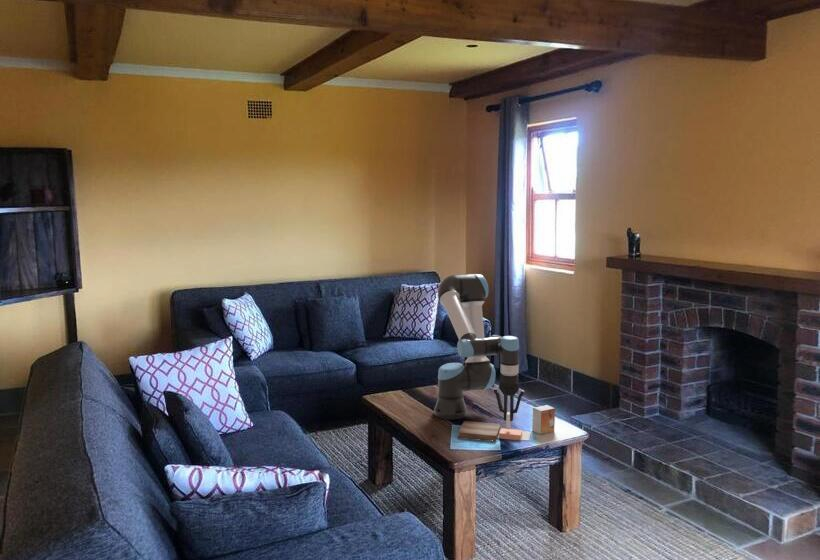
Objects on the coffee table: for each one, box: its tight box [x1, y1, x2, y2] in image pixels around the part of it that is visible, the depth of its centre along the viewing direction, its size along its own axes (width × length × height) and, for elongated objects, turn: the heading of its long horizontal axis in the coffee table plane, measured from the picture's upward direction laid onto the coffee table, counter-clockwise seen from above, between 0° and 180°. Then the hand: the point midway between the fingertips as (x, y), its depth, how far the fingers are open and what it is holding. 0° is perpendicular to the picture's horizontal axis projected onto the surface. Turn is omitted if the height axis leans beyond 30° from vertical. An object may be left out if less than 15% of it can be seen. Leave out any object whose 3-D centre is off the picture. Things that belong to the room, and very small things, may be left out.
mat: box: [497, 429, 532, 442], centre depth 281 cm, size 10×13×1 cm
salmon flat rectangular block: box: [498, 427, 523, 441], centre depth 279 cm, size 9×6×2 cm, turn 74°
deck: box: [457, 420, 502, 442], centre depth 283 cm, size 14×16×2 cm
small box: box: [531, 404, 556, 435], centre depth 285 cm, size 8×6×10 cm
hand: (508, 427), depth 279 cm, fingers closed
